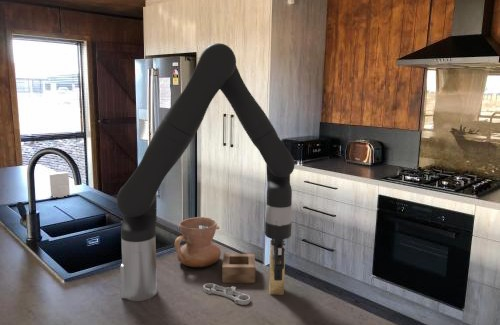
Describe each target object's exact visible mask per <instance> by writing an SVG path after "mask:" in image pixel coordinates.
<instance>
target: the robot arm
mask: <svg viewBox="0 0 500 325" xmlns="http://www.w3.org/2000/svg"><path fill="white" fill-rule="evenodd" d="M242 78H243V77H241V74H240V71H239V69H238V66H237V58H236V54H235V53H234V51H233V50H232V48H231V47H229V45H226V44H225V43H218V42H217V43H213V44H210V45H208V46H206V47H205V48H204V50H203V51H202V52H201V54H200V57H199V59H198V61H197V63H196V66H195V68H194V70H193V72H192V74H191V77H190V79H189V81H188V82H187V84H186V86H185V88H184V89H183V90H182V92H181V93H180V94H179V95H178V97H177V98H176V99H175V100H174V102H173V103H172V105H171V106H170V107H169V109H168V111H167V112H166V113H165V115H164V116H163V119H162V120H161V122H160V124H159V125H158V127H157V128H156V129H155V132H154V134H153V136H152V138H151V140H150V142H149V144H148V145H147V148H146V150H145V152H144V154H143V156H142V158H141V161H140V162H139V164H138V166H137V167H136V169H135V170H134V172H132V174H131V175H130V177H129V178H128V179H127V181H126V182H125V183H124V185H123V186H121V187H120V189H119V191H118V193H117V196H116V204H117V208H118V209H119V211H120V213H121V214H123V216H122V224H121V226H120V239H121V241H120V243H121V260H122V261H121V264H120V266H119V270H120V272H119V273H120V297H121V299H126V300H128V301H132V302H140V301H141V302H142V301H146V300H150V299H152V298H153V297H155V296H156V295H157V294H158V283H157V281H158V279H157V278H158V277H157V274H158V273H157V246H156V245H157V243H156V242H157V241H156V240H157V239H156V236H157V235H156V227H157V218H158V217H157V192H158V190H159V187H160V186H161V184H162V183H163V181H164V179H165V178H166V177H167V175H168V174H169V172H170V171H171V170H172V169H173V167H174V166H175V164H176V163H177V162H179V160H180V158H181V157H182V156H183V154H185V153H184V152H186V150H187V149H188V147H189V145H190V143H191V142H192V140H193V139H194V137H195V136H196V134H197V132H198V130H199V128H200V126H201V124H202V123H203V120H204V118H205V116H206V113H207V111H208V109H209V106H210V105H211V103H212V101H213V99H214V98H215V96H216V95H217V93H218V92H219V91H220V92H221V93H222V94H223V95H224V97H225V98H226V100H227V101H228V103H229V104H230V106H231V107H232V110H233V111H234V113H235V115H236V117H237V119H238V121H239V123H240V125H241V126H242V128H243V130H244V131H245V133H246V134H247V136H248V138H249V139H250V141H251V142H252V143H253V145H254V147H255V148H256V149H257V150H258V152H259V153H260V155H261V157H262V159H263V160H264V162H265V164H266V166H265V167H266V181H267V182H266V183H267V185H266V187H267V188H266V205H265V206H266V207H265V217H264V235H265V237H267V238H269V239H270V243H269V245H270V244H271V249H272V259H273V260H274V280H275V281H281V280H282V269H284V258H285V259H286V243H285V240H288V239H289V238H290V237H292V226H293V225H292V222H293V210H292V202H293V201H292V200H293V199H292V198H293V193H292V192H293V189H292V186H291V175H292V173H293V172H294V170H295V164H296V163H295V159H294V157H293V156H292V154H291V152H290V151H289V150H288V148H287V147H286V145H285V144H284V142H283V141H282V140H281V139H280V137H279V135H278V133H277V131H276V129H275V127H274V126H273V123H272V122H271V121H270V119H269V117H268V116H267V114H266V113H265V111H264V109H262V107H261V106H260V104H259V102H258V101H257V99H255V98H254V96H253V95H252V93H251V92H250V90H249V88H248V87H247V85H246V83H245V81H243V79H242ZM284 251H285V252H284ZM274 254H275V255H274ZM277 261H281V264H277Z"/></svg>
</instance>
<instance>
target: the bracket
mask: <svg viewBox="0 0 500 325" xmlns="http://www.w3.org/2000/svg"><path fill="white" fill-rule="evenodd" d="M202 289H203V292H204V293H206V294H209V295H210V294H211V295H213V294H215V295H218V296H222V297H224V298H227V299H229V300H232V301H234V303H235V304H237V305H238V304H239V305H242V306H246V305H248V304H250V303H251V297H250V295H249V294H245V293H242V292H239V291H237V287H236V286H231V287H230V286H227V287H224V286H221V285H220V284H219V285H218V284H216V283H212V282H209V283H205V284H203V286H202Z"/></svg>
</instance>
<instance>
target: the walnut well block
mask: <svg viewBox="0 0 500 325" xmlns="http://www.w3.org/2000/svg"><path fill="white" fill-rule="evenodd" d="M255 254H256V253H223V259H222V266H221V274H222V275H221V277H222V278H221V279H222V280H221V282H222V283H231V284H232V283H233V284H235V283H236V284H238V283H240V284H241V283H244V284H245V283H246V284H247V283H250V284H252V283H253V284H254V283H256V257H255V256H256V255H255Z"/></svg>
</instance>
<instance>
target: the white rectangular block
mask: <svg viewBox="0 0 500 325" xmlns="http://www.w3.org/2000/svg"><path fill="white" fill-rule="evenodd" d="M69 175H70V174H69V171H62V172H61V171H59V172H52V173H49V186H50V197H51V196H54V197H53V198H56V197H58V198H65V197H64V196H66V197H68V196H67V195H69V194H70V193H71V192H70V191H71V190H70V178H69V177H70V176H69ZM70 195H71V194H70ZM70 195H69V196H70Z"/></svg>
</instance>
